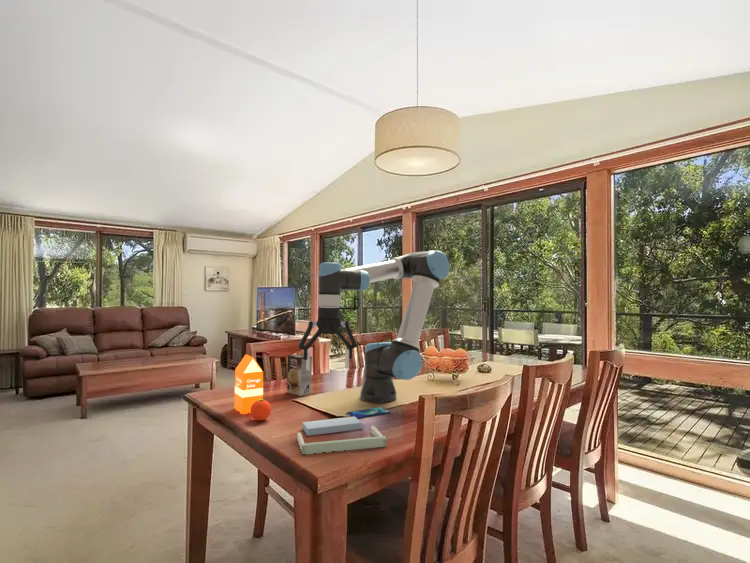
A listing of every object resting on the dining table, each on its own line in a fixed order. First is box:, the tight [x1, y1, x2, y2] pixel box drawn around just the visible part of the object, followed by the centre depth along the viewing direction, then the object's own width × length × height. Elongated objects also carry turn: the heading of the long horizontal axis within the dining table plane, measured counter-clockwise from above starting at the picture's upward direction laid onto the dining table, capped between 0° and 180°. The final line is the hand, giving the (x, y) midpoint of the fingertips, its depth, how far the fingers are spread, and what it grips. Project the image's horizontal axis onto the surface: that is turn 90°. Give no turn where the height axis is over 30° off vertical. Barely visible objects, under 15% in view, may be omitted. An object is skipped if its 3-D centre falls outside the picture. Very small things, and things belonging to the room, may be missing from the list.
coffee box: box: [286, 353, 313, 397], centre depth 180 cm, size 9×6×16 cm
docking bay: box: [296, 425, 387, 455], centre depth 122 cm, size 24×12×2 cm, turn 107°
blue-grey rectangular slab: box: [301, 416, 363, 436], centre depth 134 cm, size 18×7×2 cm, turn 113°
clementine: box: [249, 398, 272, 422], centre depth 142 cm, size 8×7×7 cm
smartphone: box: [346, 406, 391, 420], centre depth 151 cm, size 8×1×15 cm
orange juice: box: [234, 354, 264, 415], centre depth 154 cm, size 8×9×20 cm
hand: (327, 368), depth 143 cm, fingers open, 13 cm apart
